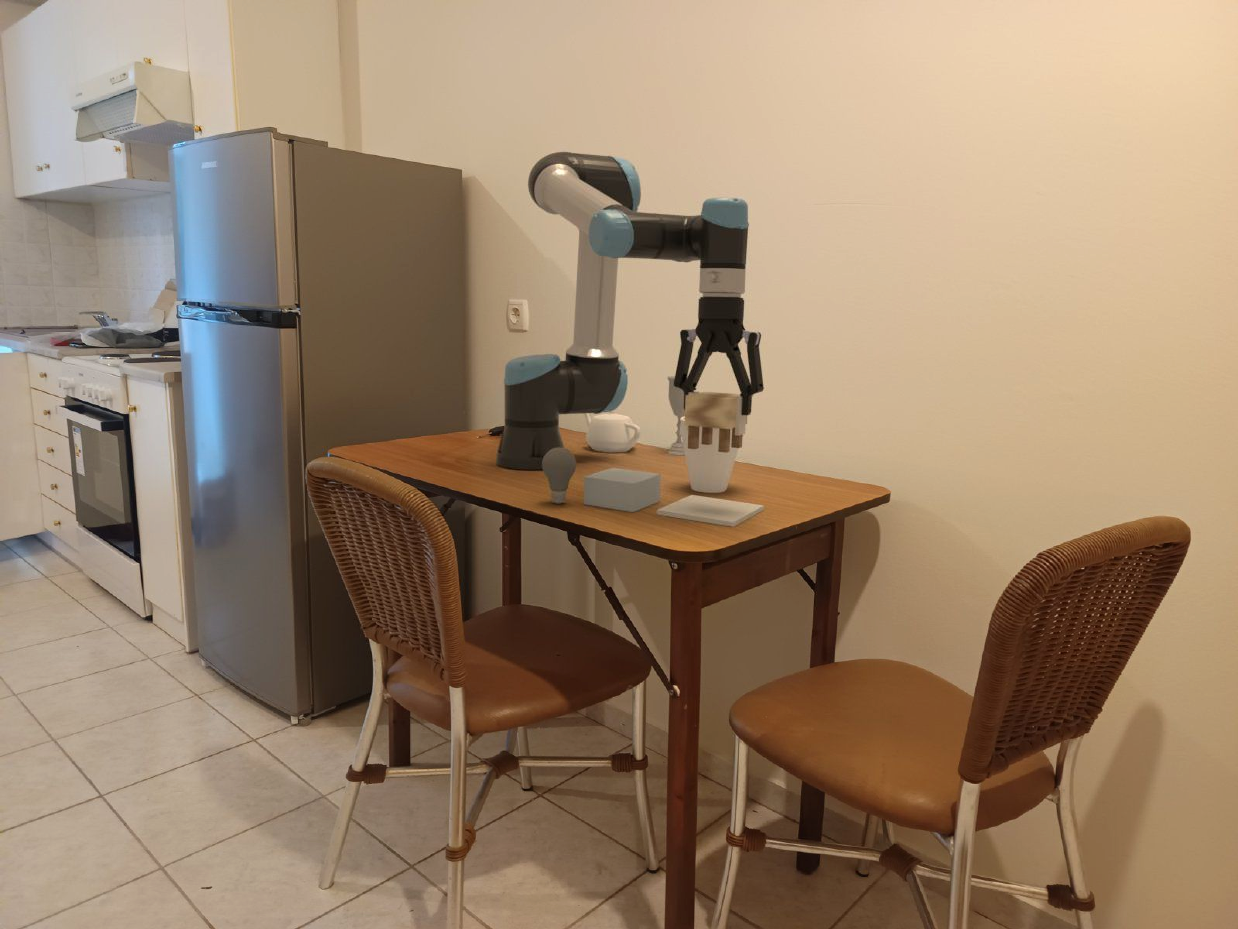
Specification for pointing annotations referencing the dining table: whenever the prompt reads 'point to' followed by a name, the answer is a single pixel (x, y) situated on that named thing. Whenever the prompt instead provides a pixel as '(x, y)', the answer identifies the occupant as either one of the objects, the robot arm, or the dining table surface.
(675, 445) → the chalice
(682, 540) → the dining table surface
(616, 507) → the gray square block
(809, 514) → the dining table surface
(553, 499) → the light bulb
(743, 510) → the mat
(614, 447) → the teapot
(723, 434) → the stool
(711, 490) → the cup
